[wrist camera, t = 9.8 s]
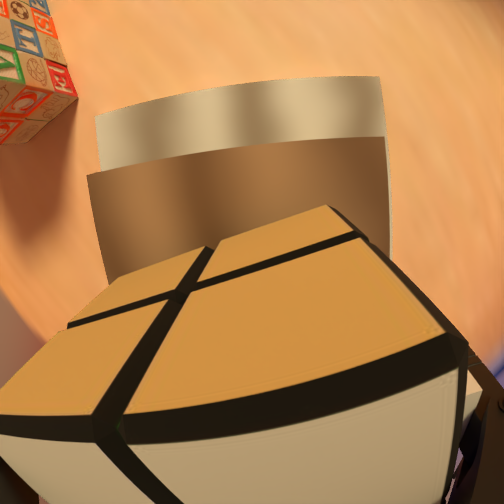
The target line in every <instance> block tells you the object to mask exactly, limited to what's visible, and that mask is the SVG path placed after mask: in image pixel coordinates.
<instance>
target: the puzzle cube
mask: <svg viewBox="0 0 504 504" xmlns="http://www.w3.org/2000/svg"><path fill="white" fill-rule="evenodd" d="M468 349H469V342H468V341H467V340H466V339H465V338H464V337H463V335H462V334H461V333H460V332H459V331H458V330H457V329H456V328H455V326H454V325H453V324H452V323H451V322H450V321H449V320H448V319H447V318H446V317H445V315H444V314H443V313H442V312H441V311H440V310H439V309H438V308H437V307H436V306H435V305H434V304H433V302H432V301H431V300H430V299H429V298H428V297H427V296H426V295H425V294H424V293H423V292H422V291H421V290H420V289H419V288H418V287H417V286H416V285H415V284H414V283H413V282H412V281H411V280H410V279H409V278H408V277H407V276H406V275H405V274H404V273H403V272H402V271H401V270H400V269H399V268H398V267H397V266H396V265H395V264H394V263H393V262H392V261H391V260H390V259H389V258H388V257H387V256H386V255H385V254H384V253H383V252H382V251H381V250H380V249H379V248H378V247H377V246H376V245H374V244H372V243H370V242H369V238H368V237H367V236H366V235H365V234H364V233H363V232H362V231H360V230H359V229H358V228H357V227H356V226H355V225H354V224H353V223H351V222H350V221H349V220H348V219H347V218H346V217H345V216H344V215H342V214H341V213H340V212H339V211H338V210H337V209H335V208H333V207H331V206H329V205H327V204H326V205H323V206H320V207H317V208H314V209H311V210H308V211H305V212H302V213H299V214H296V215H293V216H290V217H287V218H284V219H281V220H278V221H276V222H273V223H270V224H267V225H264V226H261V227H258V228H255V229H252V230H249V231H246V232H244V233H241V234H238V235H235V236H232V237H229V238H226V239H224V240H221V241H220V242H219V244H218V246H217V247H216V249H215V250H213V249H211V248H209V247H207V246H203V247H201V248H198V249H195V250H192V251H189V252H187V253H184V254H181V255H178V256H175V257H173V258H170V259H167V260H164V261H162V262H159V263H156V264H153V265H151V266H148V267H145V268H142V269H140V270H137V271H134V272H131V273H129V274H126V275H123V276H121V277H118V278H117V279H116V280H115V281H114V282H113V283H112V284H110V285H109V286H108V287H107V288H106V289H105V290H104V291H102V292H101V293H100V294H99V295H98V296H97V297H96V298H95V299H93V300H92V301H91V302H90V303H89V304H88V305H87V306H86V307H85V308H84V309H82V310H81V311H80V312H79V313H78V314H77V315H76V316H75V317H74V318H73V319H72V320H71V321H69V322H68V325H67V329H66V330H63V331H59V332H58V333H57V334H56V335H55V336H54V337H53V338H52V339H51V340H49V341H48V342H47V343H46V344H45V345H44V346H43V347H42V348H41V349H40V350H39V351H38V352H37V353H36V354H35V355H34V356H33V357H32V358H31V359H30V360H29V361H28V362H27V363H26V364H25V365H24V366H23V367H22V368H21V369H20V370H19V371H18V372H17V373H16V374H15V375H14V376H13V377H12V378H11V379H10V380H9V381H8V382H7V383H6V384H5V385H4V386H3V387H2V388H1V389H0V456H1V457H2V458H3V459H4V461H5V462H6V463H7V464H8V465H9V466H10V467H11V468H12V469H13V470H14V471H15V472H16V473H17V474H18V475H19V476H20V477H21V478H22V479H23V480H24V481H25V482H26V483H27V484H28V485H29V486H30V487H31V488H32V489H33V490H34V491H35V492H36V493H38V494H39V495H40V496H41V497H42V498H43V499H44V500H46V502H48V503H49V504H446V500H445V497H446V496H447V494H448V492H449V490H450V486H451V482H452V477H453V473H454V468H455V464H456V459H457V454H458V448H459V443H460V437H461V430H462V423H463V416H464V407H465V398H466V387H467V373H468Z"/></svg>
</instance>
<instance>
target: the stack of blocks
mask: <svg viewBox="0 0 504 504" xmlns="http://www.w3.org/2000/svg"><path fill="white" fill-rule="evenodd" d="M66 67H67V63H66V60H65V57H64V54H63V52H62V49H61V46H60V43H59V41H58V36H57V33H56V30H55V26H54V23H53V20H52V17H51V16H50V12H49V9H48V6H47V2H46V0H0V145H1V144H3V145H4V144H17V143H27V142H28V141H29V140H30V139H31V138H32V137H33V136H34V135H35V134H36V133H38V132H39V131H40V130H41V129H42V128H43V127H44V126H45V125H46V124H47V123H48V122H49V121H51V120H53V119H54V118H55V117H56V116H57V115H58V114H60V113H61V112H62V111H63V110H64V109H65V108H67V107H68V106H69V105H70V104H71V103H73V102H74V101H75V100H76V99H77V98H78V95H77V92H76V90H75V87H74V85H73V82H72V80H71V77H70V74H69V73H68V69H67V68H66Z"/></svg>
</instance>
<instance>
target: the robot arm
mask: <svg viewBox="0 0 504 504" xmlns="http://www.w3.org/2000/svg"><path fill="white" fill-rule="evenodd" d="M459 448H460V450H461V452H462V454H463V458H462V460H461V462H460V463H459V465H458V467H457V469H456V471H455V472H454V474H453V477H452V478H453V479H455V482H454V485H453V488H452V492H451V495H450V498H449V501H448V504H504V389H503V387H502V386H501V385H500V384H499V382H498V381H497V380H496V378H495V377H494V376H493V375H492V373H491V372H490V371H489V370H488V368H487V367H486V366H485V365H484V364H483V363H482V361H481V360H480V359H479V357H478V356H476V355H475V353H474V351H473V350H472V349H471V348H470V347H469V349H468V373H467V387H466V398H465V407H464V416H463V423H462V430H461V437H460V443H459ZM455 477H456V478H455ZM0 504H39V495H38V493H36V492H35V491H34V490H33V489H32V488H31V487H30V486H29V485H28V484H27V483H26V482H25V481H24V480H23V479H22V478H21V477H20V476H19V475H18V474H17V473H16V472H15V471H14V470H13V469H12V468H11V467H10V466H9V465H8V464H7V463H6V462H5V461H4V459H3V458H2V457H1V456H0Z"/></svg>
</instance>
